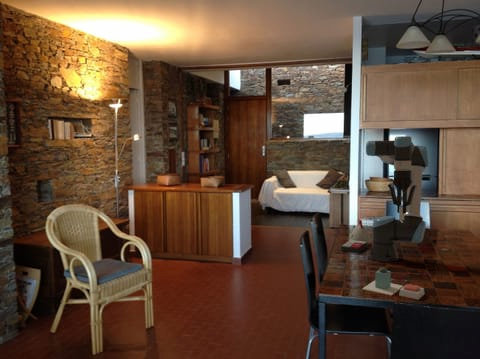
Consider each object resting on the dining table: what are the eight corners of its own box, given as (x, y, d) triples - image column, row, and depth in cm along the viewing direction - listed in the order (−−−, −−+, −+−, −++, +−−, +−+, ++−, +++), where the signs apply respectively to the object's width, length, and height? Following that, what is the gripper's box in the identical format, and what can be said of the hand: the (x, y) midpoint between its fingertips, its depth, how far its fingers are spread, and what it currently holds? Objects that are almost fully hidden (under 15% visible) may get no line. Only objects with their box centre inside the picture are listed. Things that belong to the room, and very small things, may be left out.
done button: (407, 288, 191) (407, 283, 191) (419, 290, 188) (419, 286, 188) (403, 291, 188) (403, 286, 187) (415, 293, 184) (416, 289, 184)
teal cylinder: (379, 284, 200) (379, 266, 200) (390, 286, 197) (390, 268, 197) (375, 287, 197) (375, 268, 196) (386, 289, 193) (386, 270, 193)
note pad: (374, 281, 206) (375, 280, 206) (402, 286, 198) (402, 285, 198) (362, 289, 196) (362, 288, 196) (391, 295, 187) (391, 294, 187)
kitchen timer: (369, 241, 284) (369, 218, 283) (374, 246, 271) (374, 222, 269) (347, 241, 286) (347, 218, 284) (351, 246, 272) (351, 222, 271)
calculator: (340, 245, 262) (350, 239, 274) (341, 252, 263) (350, 245, 275) (358, 247, 256) (367, 241, 268) (358, 254, 257) (367, 247, 269)
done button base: (405, 290, 194) (405, 284, 193) (424, 294, 189) (424, 288, 188) (399, 295, 187) (399, 289, 187) (418, 299, 182) (418, 293, 182)
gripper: (385, 169, 205) (384, 219, 207) (414, 170, 197) (413, 222, 199) (391, 168, 211) (390, 217, 213) (419, 169, 203) (418, 220, 205)
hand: (401, 219), depth 206 cm, fingers closed
